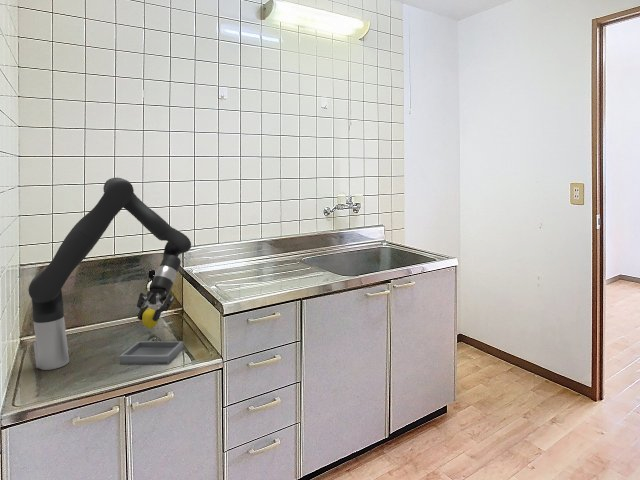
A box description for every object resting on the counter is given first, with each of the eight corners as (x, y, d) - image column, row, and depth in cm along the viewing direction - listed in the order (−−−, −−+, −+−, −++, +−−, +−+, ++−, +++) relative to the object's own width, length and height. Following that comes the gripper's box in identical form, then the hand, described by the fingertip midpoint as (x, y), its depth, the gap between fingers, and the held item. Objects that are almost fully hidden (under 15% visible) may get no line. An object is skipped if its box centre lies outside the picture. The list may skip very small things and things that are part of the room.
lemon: (153, 332, 153) (151, 310, 152) (139, 331, 154) (137, 310, 153) (162, 326, 159) (160, 306, 158) (148, 326, 160) (146, 305, 159)
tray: (119, 364, 152) (119, 356, 151) (139, 348, 166) (138, 341, 165) (168, 364, 150) (167, 356, 150) (183, 348, 164) (183, 341, 164)
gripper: (142, 274, 163) (124, 314, 153) (175, 275, 159) (159, 316, 150) (152, 284, 169) (135, 323, 159) (184, 285, 165) (169, 325, 155)
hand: (147, 319), depth 154 cm, fingers closed on lemon, 5 cm apart
